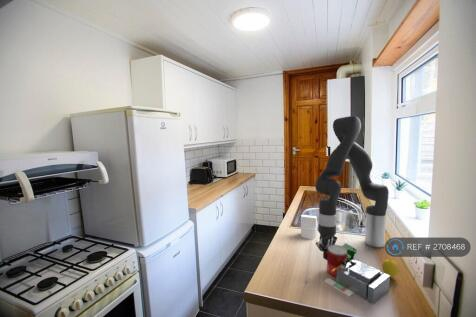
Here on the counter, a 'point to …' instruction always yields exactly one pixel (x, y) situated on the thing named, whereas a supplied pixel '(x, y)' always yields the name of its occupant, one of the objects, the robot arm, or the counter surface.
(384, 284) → the box
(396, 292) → the counter surface
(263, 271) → the counter surface
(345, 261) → the canned food
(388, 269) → the lemon
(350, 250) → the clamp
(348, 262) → the plunger
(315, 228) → the white container
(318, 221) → the robot arm
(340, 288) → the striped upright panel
